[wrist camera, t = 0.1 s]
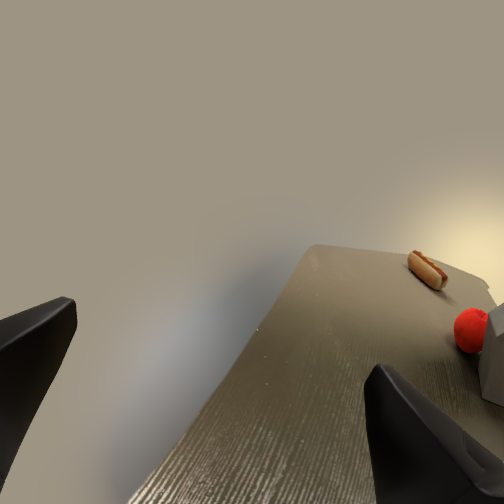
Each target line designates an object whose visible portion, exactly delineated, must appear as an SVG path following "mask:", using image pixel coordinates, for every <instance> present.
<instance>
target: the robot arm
mask: <svg viewBox="0 0 504 504" xmlns="http://www.w3.org/2000/svg"><path fill="white" fill-rule="evenodd" d="M76 328H77V312H76V303H75V301H74V300H73V299H70V298H67V297H60V298H57V299H54V300H51V301H49V302H46V303H43V304H41V305H38V306H36V307H33V308H30V309H28V310H25V311H22V312H20V313H17V314H15V315H12V316H9V317H7V318H4V319H2V320H0V493H1V490H2V488H3V485H4V482H5V479H6V477H7V475H8V472H9V470H10V467H11V465H12V463H13V461H14V458H15V456H16V454H17V452H18V449H19V447H20V445H21V443H22V441H23V439H24V436H25V434H26V432H27V430H28V428H29V426H30V424H31V422H32V420H33V418H34V416H35V414H36V412H37V410H38V408H39V406H40V404H41V402H42V400H43V398H44V396H45V395H46V393H47V391H48V389H49V387H50V385H51V383H52V382H53V380H54V378H55V376H56V374H57V372H58V370H59V368H60V366H61V364H62V361H63V359H64V357H65V354H66V352H67V349H68V347H69V345H70V342H71V340H72V338H73V336H74V334H75V331H76ZM364 400H365V416H366V431H367V438H368V444H369V450H370V457H371V464H372V471H373V478H374V486H375V494H376V503H377V504H504V462H503V461H501V460H500V459H499V458H497V457H496V456H495V455H493V454H492V453H491V452H490V451H488V450H487V449H486V448H484V447H483V446H482V445H481V444H479V443H478V442H477V441H476V440H475V439H474V438H472V437H471V436H470V435H469V434H468V433H467V432H466V431H465V430H463V429H462V428H461V427H460V426H459V425H458V424H457V423H455V422H454V421H453V420H452V419H451V418H450V417H449V416H447V415H446V414H445V413H444V412H443V411H442V410H441V409H440V408H438V407H437V406H436V405H435V404H434V403H433V402H432V401H430V400H429V399H428V398H427V397H426V396H425V395H424V394H422V393H421V392H420V391H419V390H418V389H417V388H416V387H415V386H413V385H412V384H411V383H410V382H409V381H408V380H407V379H405V378H404V377H403V376H402V375H401V374H400V373H399V372H397V371H396V370H395V369H394V368H393V367H392V366H391V365H389V364H381V363H379V364H377V365H375V367H374V368H373V370H372V372H371V373H370V375H369V377H368V378H367V380H366V382H365V384H364Z"/></svg>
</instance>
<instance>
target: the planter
mask: <svg viewBox="0 0 504 504" xmlns="http://www.w3.org/2000/svg"><path fill="white" fill-rule="evenodd" d="M478 372H479V379H480V386H481V395H482V398H483V399H485V400H488V401H490V402H492V403H495V404H497V405H500V406H502V407H504V303H503V304H501V305H500V306H498V307H497V308H495V309H494V310H492V311H491V312H489V313H488V318H487V324H486V330H485V336H484V341H483V346H482V351H481V356H480V361H479V365H478Z"/></svg>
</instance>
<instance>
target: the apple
mask: <svg viewBox="0 0 504 504" xmlns="http://www.w3.org/2000/svg"><path fill="white" fill-rule="evenodd" d="M487 318H488V315H487V314H486V313H485V312H484V311H482V310H479V309H475V308H471V309H468V310H465V311H464V312H462V313H461V314H460V315H459V316H458V317H457V318H456V321H455V323H454V337H455V341H456V343H457V345H458V346H459V347H460V348H461V349H462V350H463V351H465V352H466V353H477V352H480V351H482V346H483V341H484V336H485V330H486V324H487Z"/></svg>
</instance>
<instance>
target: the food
mask: <svg viewBox="0 0 504 504" xmlns="http://www.w3.org/2000/svg"><path fill="white" fill-rule="evenodd" d="M407 262H408V266H409V268H410V269H411V270H412V271H413V272H414V273H415V274H416V275H417V276H418V277H419V278H420V279H422V280H423V281H424V282H425V283H426V284H427V285H429V286H431V287H432V288H433V289H437V290H440V289H442V288H444V287H445V286H446V284H447V282H448V280H449V278H448V276H447V275H446V274H445V273H444V272H442V269H441V268H440V267H438V266H436V264H435V263H433V262H432V261H430V260H429V259H428V258H427V257H425V256H424V255H423V254H422V253H421V252H418V251H413V252H410V254H409V257H408V261H407Z"/></svg>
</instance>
